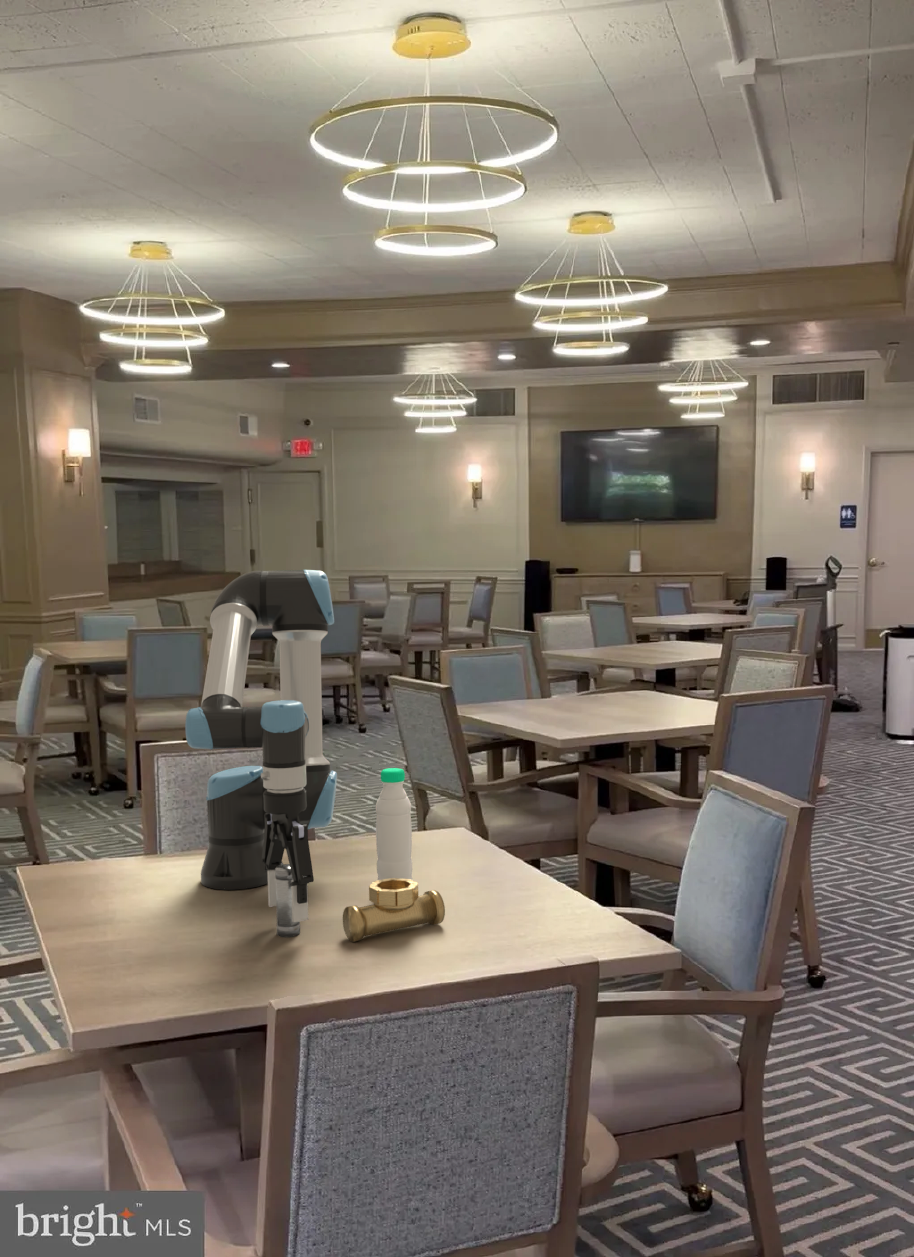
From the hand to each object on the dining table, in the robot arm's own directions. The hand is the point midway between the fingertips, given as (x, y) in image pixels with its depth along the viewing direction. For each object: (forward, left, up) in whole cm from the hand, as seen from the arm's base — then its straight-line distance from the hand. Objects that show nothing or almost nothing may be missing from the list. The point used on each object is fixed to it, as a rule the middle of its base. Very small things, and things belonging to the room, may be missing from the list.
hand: (288, 912), depth 202 cm
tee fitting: (+10, +16, -4) cm, 19 cm away
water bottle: (-10, +27, -4) cm, 29 cm away
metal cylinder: (0, 0, -4) cm, 4 cm away
